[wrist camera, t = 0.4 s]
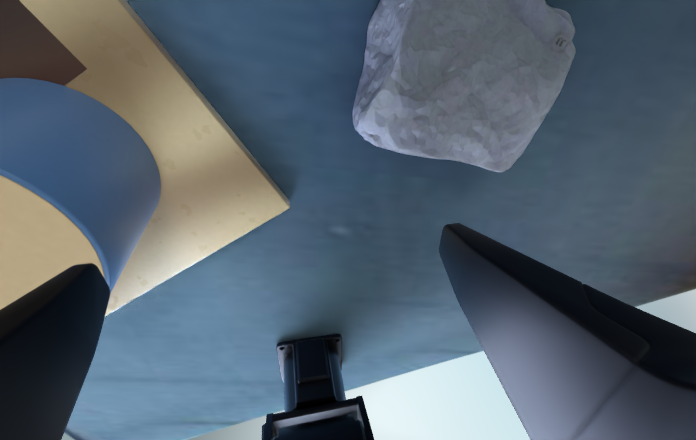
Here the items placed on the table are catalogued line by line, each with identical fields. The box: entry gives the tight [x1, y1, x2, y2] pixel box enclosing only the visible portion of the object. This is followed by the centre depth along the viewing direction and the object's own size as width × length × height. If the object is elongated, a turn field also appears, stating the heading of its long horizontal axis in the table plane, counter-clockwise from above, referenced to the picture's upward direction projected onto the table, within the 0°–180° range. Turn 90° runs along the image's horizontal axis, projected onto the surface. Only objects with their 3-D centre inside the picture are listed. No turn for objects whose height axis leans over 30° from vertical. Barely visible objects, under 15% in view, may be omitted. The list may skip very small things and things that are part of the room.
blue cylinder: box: [0, 78, 161, 310], centre depth 16 cm, size 10×10×8 cm
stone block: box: [352, 0, 576, 172], centre depth 19 cm, size 12×5×10 cm
